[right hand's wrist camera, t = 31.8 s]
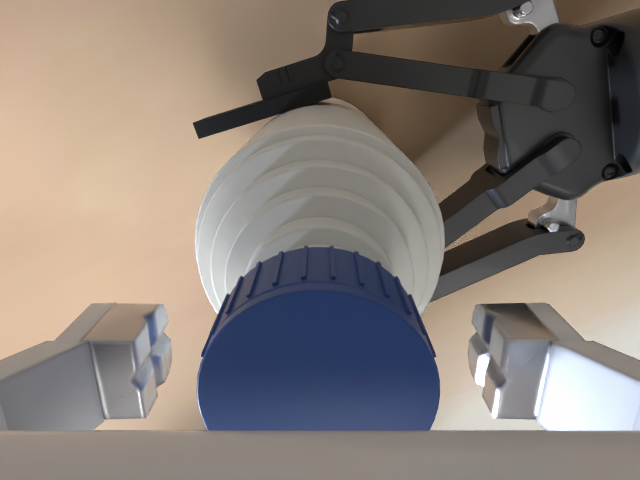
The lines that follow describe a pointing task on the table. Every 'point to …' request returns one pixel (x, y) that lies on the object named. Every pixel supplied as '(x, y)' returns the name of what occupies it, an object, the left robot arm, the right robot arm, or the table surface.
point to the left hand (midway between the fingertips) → (234, 210)
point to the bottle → (320, 201)
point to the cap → (318, 349)
